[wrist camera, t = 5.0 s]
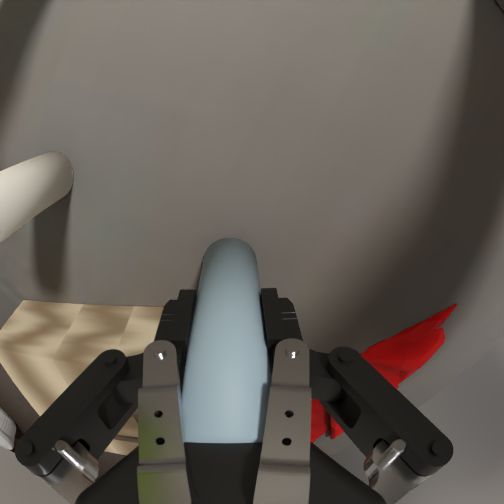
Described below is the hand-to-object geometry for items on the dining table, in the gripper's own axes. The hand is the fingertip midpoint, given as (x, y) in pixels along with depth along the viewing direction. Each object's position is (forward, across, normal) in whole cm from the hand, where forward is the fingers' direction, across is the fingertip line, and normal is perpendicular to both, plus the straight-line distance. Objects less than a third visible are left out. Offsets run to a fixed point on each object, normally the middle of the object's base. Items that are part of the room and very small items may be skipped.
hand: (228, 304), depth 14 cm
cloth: (+6, -13, +16) cm, 22 cm away
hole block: (+5, +9, +11) cm, 15 cm away
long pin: (+4, 0, 0) cm, 4 cm away
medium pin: (+5, +11, -6) cm, 14 cm away
